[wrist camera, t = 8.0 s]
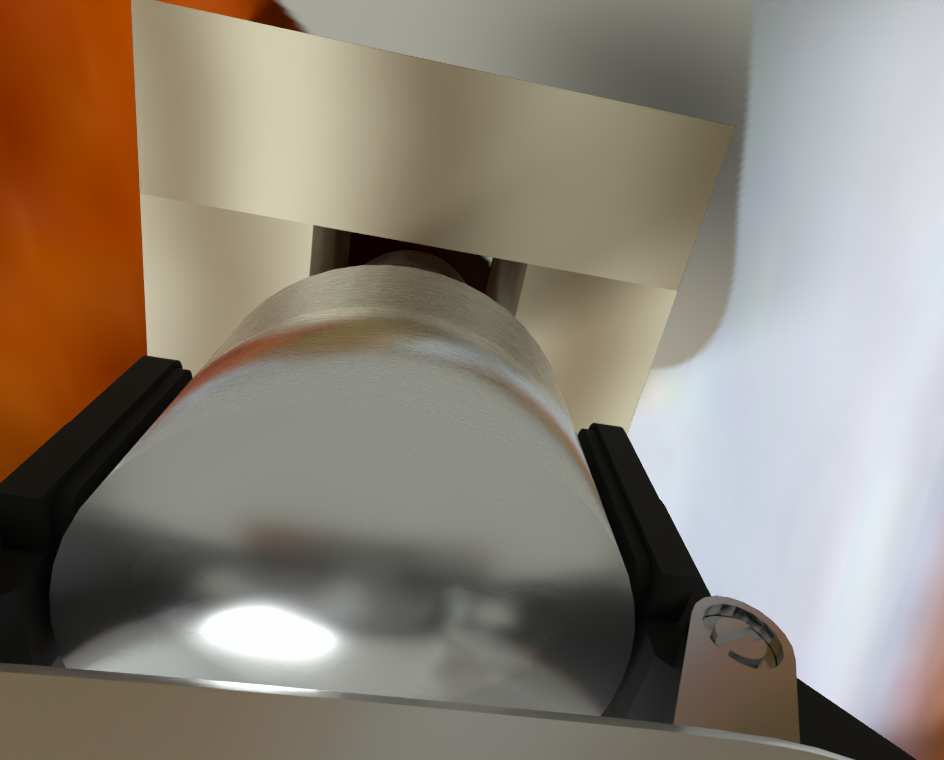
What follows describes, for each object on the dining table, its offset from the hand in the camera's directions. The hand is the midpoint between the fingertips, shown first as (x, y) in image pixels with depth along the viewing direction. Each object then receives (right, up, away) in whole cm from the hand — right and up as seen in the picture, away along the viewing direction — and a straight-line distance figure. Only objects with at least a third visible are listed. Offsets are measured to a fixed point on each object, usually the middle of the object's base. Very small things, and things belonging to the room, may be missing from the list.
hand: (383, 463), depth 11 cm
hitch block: (0, +6, +13) cm, 14 cm away
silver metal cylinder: (0, +4, +7) cm, 8 cm away
